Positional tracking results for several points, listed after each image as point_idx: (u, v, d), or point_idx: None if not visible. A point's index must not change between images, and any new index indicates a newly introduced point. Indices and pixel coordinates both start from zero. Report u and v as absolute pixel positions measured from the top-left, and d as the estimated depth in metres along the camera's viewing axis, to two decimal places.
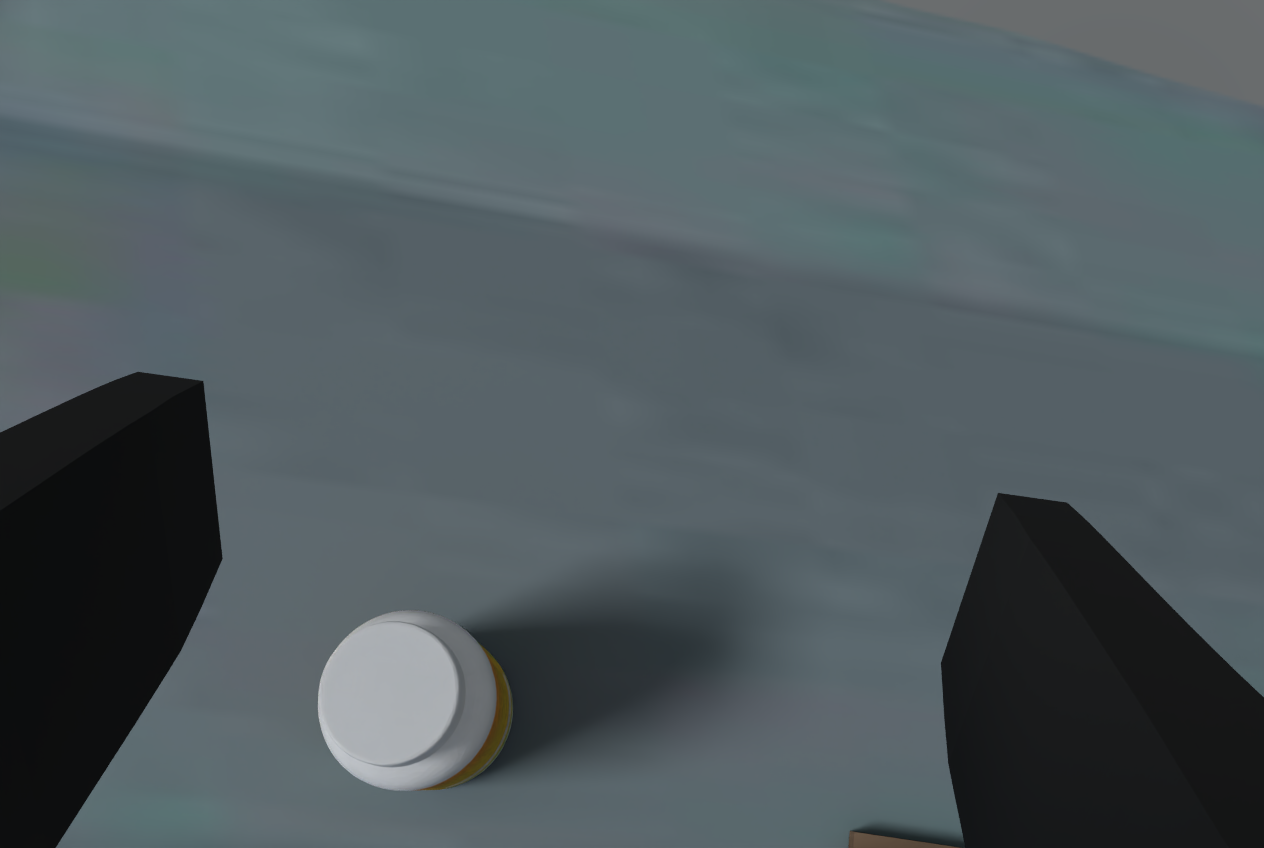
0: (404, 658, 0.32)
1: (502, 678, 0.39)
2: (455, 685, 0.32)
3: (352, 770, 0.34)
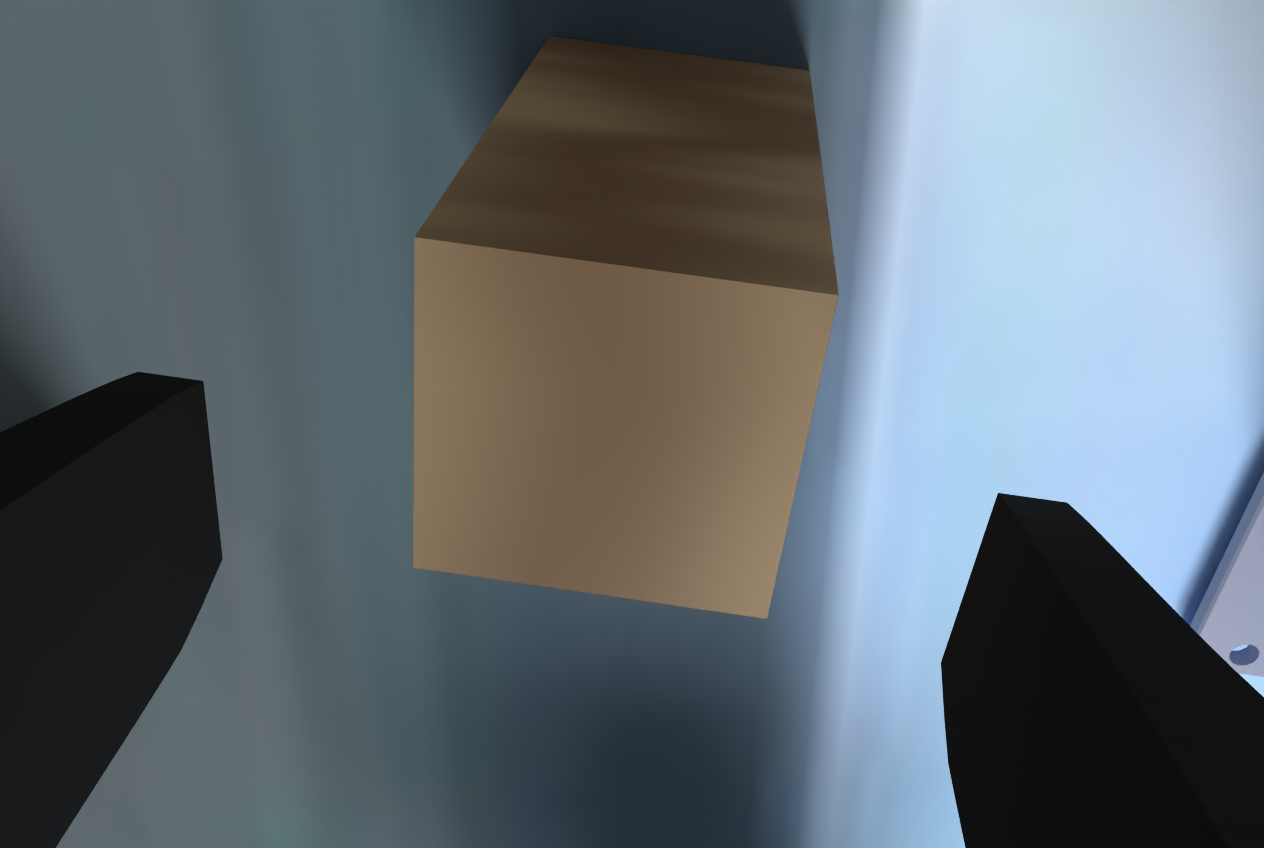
0: None
1: None
2: None
3: None
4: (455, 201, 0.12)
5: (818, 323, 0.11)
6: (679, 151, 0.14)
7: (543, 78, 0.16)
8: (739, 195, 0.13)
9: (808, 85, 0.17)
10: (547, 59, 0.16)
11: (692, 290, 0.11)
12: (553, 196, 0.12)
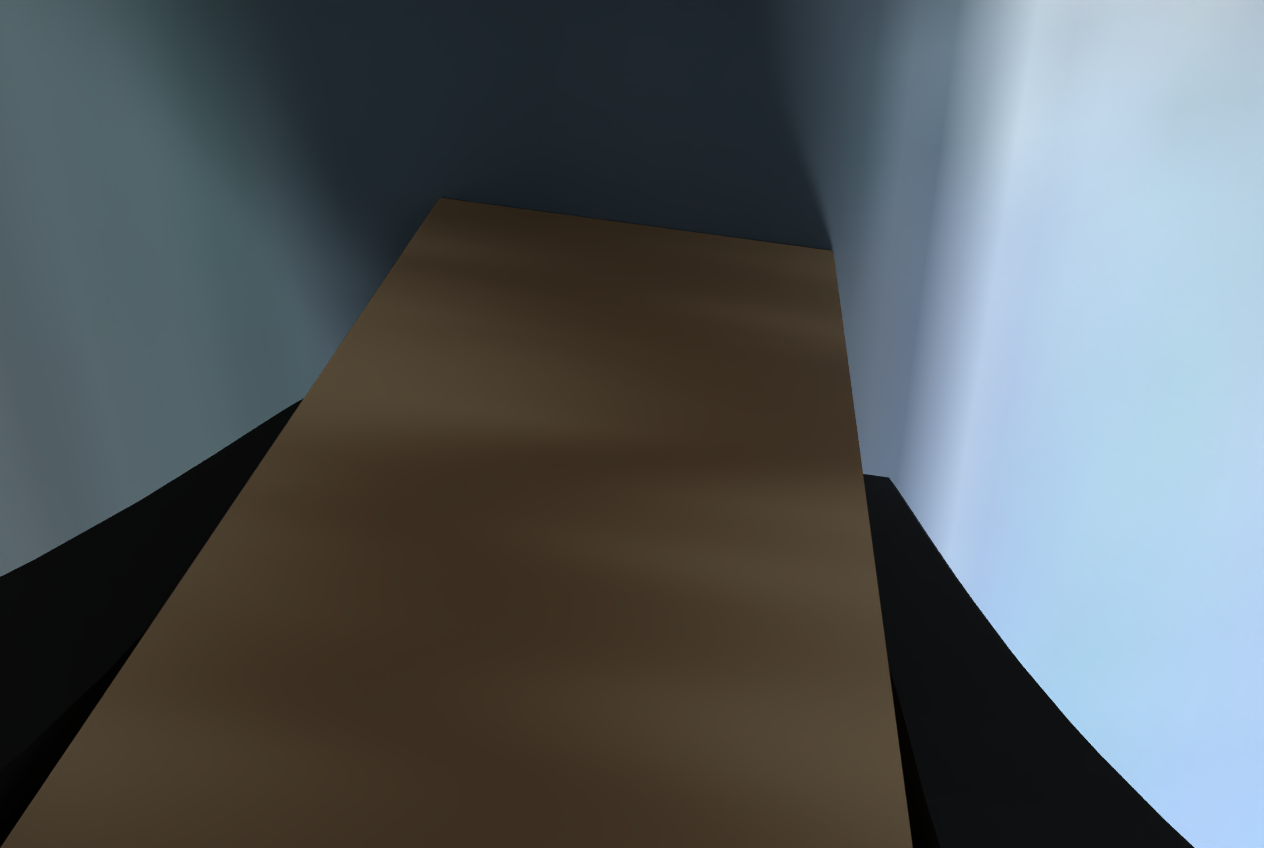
0: None
1: None
2: None
3: None
4: (132, 703, 0.06)
5: None
6: (614, 485, 0.08)
7: (406, 296, 0.10)
8: (718, 617, 0.07)
9: (833, 286, 0.11)
10: (425, 251, 0.10)
11: None
12: (349, 655, 0.06)
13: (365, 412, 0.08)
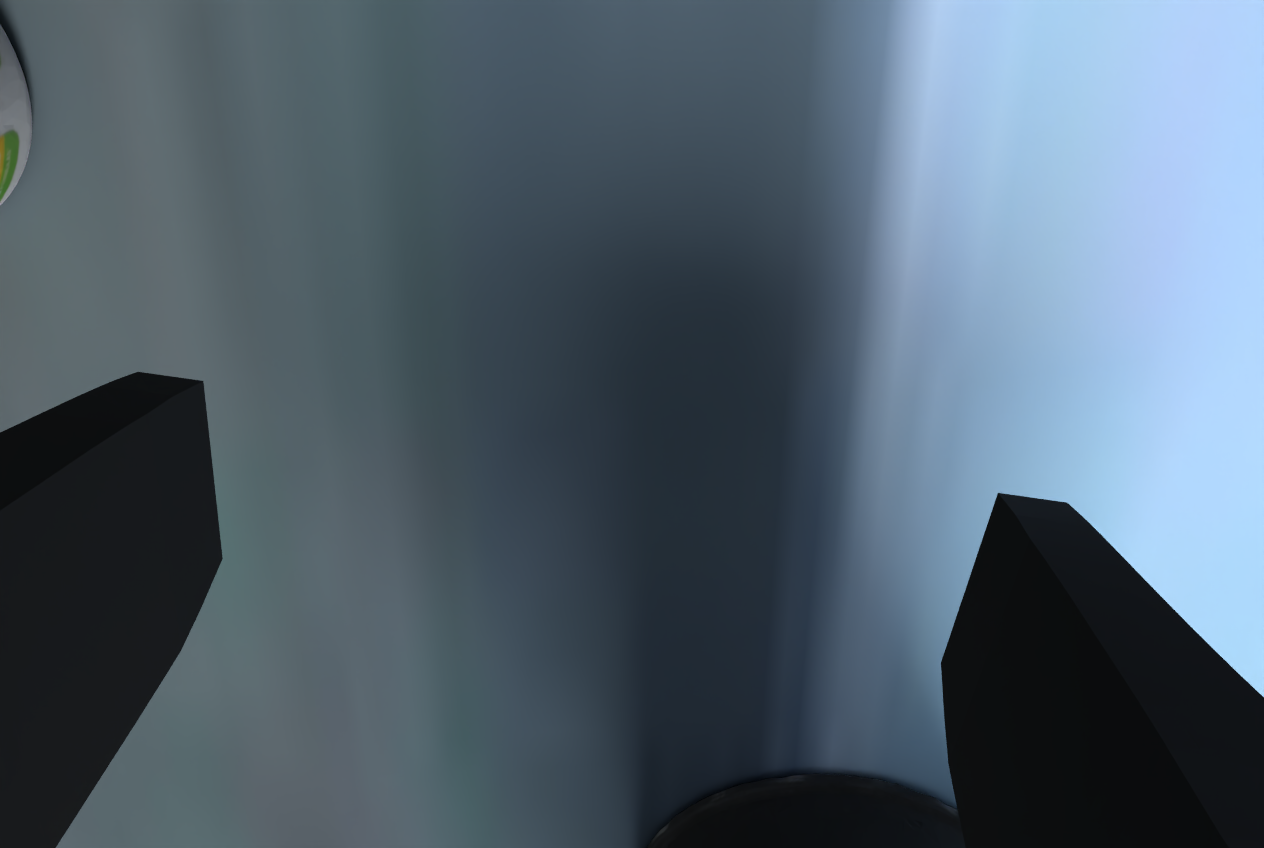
0: None
1: None
2: None
3: None
4: None
5: None
6: None
7: None
8: None
9: None
10: None
11: None
12: None
13: None
